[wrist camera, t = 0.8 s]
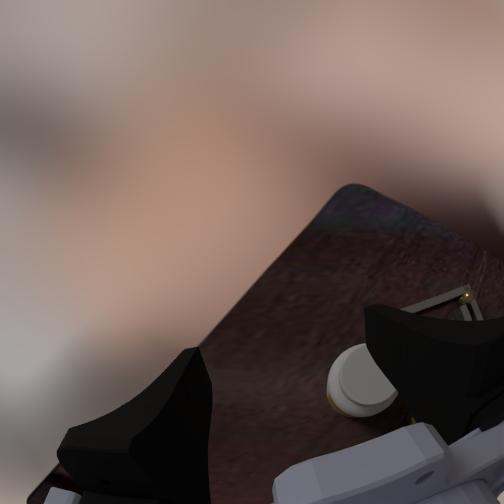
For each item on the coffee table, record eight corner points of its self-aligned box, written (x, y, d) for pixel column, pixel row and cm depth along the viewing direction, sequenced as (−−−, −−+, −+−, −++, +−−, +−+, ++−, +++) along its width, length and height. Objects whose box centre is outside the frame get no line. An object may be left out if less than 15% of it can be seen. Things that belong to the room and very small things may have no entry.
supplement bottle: (385, 412, 21) (417, 408, 14) (327, 420, 23) (330, 422, 15) (381, 357, 24) (407, 326, 16) (325, 365, 25) (325, 337, 18)
